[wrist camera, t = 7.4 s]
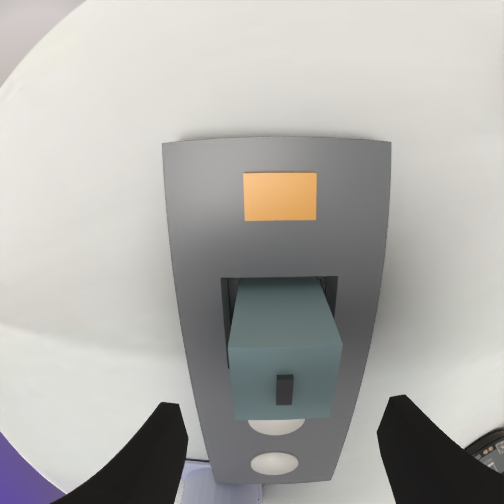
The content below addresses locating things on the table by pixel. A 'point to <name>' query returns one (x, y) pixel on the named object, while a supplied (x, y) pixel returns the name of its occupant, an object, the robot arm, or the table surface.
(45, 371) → the table surface
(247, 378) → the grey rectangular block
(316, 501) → the table surface
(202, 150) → the control panel
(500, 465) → the supplement container
